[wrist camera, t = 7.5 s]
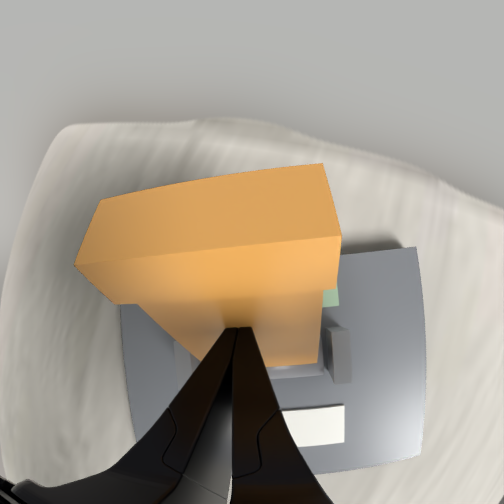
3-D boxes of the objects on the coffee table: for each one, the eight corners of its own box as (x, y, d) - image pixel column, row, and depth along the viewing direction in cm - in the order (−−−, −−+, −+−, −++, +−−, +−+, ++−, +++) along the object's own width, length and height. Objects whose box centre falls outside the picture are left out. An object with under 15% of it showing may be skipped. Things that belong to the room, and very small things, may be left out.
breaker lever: (322, 378, 14) (347, 234, 5) (213, 384, 14) (70, 265, 6) (319, 342, 15) (327, 163, 6) (215, 349, 16) (97, 200, 7)
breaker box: (412, 445, 14) (437, 476, 10) (150, 455, 16) (119, 482, 12) (407, 251, 16) (437, 233, 12) (131, 278, 19) (90, 269, 15)
